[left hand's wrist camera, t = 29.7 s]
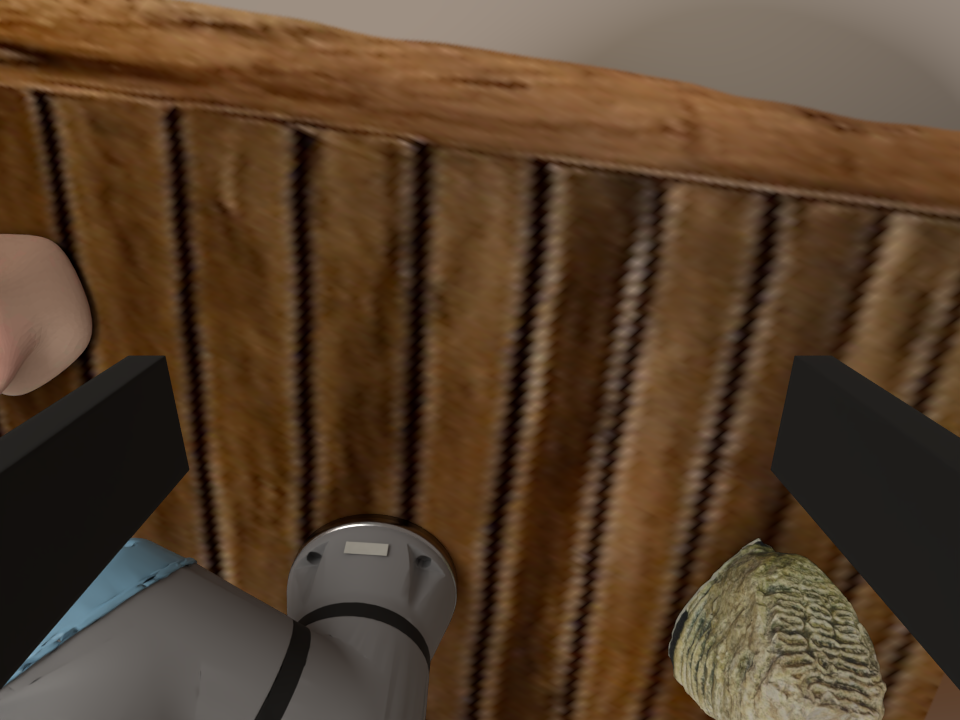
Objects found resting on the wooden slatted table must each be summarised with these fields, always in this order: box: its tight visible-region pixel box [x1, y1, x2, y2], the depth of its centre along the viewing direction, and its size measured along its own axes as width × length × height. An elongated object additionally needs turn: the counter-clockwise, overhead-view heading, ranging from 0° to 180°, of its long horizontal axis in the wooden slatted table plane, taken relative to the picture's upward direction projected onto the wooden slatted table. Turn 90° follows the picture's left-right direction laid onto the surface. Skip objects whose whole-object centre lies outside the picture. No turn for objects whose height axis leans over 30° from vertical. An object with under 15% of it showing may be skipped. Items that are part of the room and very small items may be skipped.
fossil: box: [669, 538, 887, 720], centre depth 48 cm, size 9×18×15 cm, turn 168°
